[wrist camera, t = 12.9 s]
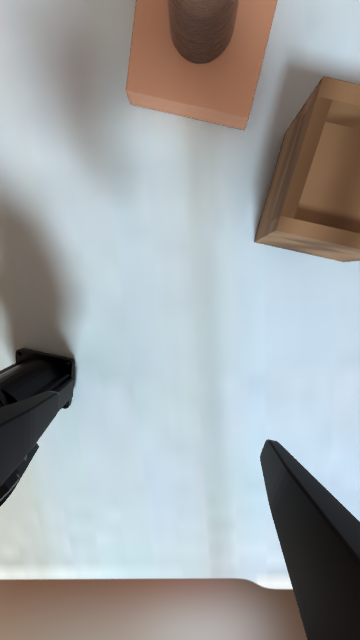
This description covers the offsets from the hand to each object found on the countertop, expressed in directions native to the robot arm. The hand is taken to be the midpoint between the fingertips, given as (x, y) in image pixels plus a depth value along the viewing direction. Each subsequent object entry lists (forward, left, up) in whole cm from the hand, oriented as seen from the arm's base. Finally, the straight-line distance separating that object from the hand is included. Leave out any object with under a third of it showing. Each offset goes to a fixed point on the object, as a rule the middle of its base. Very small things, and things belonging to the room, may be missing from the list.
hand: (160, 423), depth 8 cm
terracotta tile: (-3, +24, -13) cm, 28 cm away
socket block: (+10, +15, -13) cm, 22 cm away
